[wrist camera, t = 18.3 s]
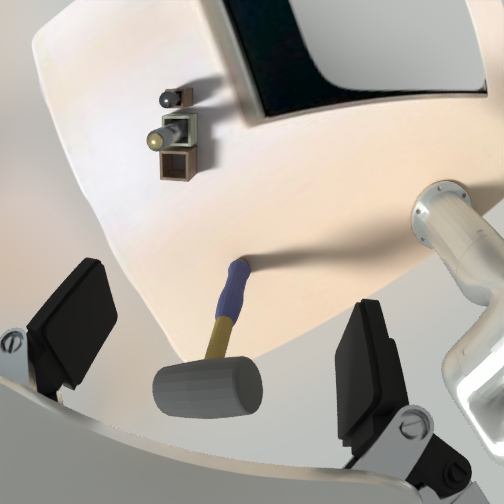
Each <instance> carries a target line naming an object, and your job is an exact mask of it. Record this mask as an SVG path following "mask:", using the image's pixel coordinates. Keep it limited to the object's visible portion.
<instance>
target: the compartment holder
mask: <svg viewBox="0 0 504 504" xmlns="http://www.w3.org/2000/svg"><path fill="white" fill-rule="evenodd" d="M166 91H174V92H175V93H176V94H177V91H182V94H181V104H176V105H175V106H174V107H171V108H185V107H189V106H192V100H193V88H178V89H166V90H165V92H166ZM172 119H189V121H188V140H184V139H180V140H179V141H177V142H175V143H173V144H171V145H170V146H168V147H166V148H164V149H163V150H161V151H159V154H160V180H173V181H186V182H189V181H190V180H191V179H192V178H193V177H194V176H195V175H196V174H197V146H192V145H194V144H195V143H197V119H198V114H167V115H164V116H162V127H163V126H166V125H169V124H171V123H172ZM172 154H186V171H185V170H172Z"/></svg>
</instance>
